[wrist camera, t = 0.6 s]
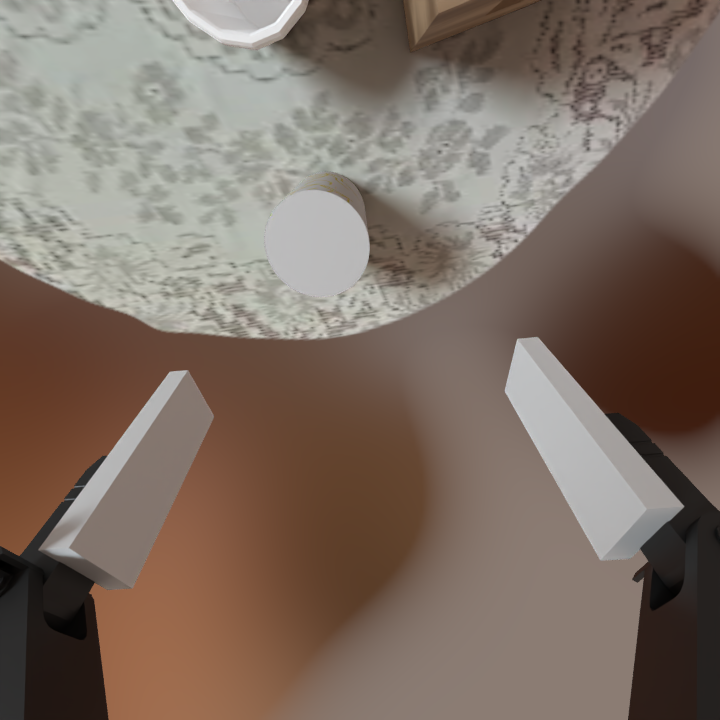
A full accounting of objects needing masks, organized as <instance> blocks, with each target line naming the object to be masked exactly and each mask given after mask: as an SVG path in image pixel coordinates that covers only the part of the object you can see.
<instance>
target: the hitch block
mask: <svg viewBox="0 0 720 720" xmlns="http://www.w3.org/2000/svg"><path fill="white" fill-rule="evenodd" d="M539 1H541V0H403V5H404V12H405V19H406V26H407V33H408V40H409V47H410V52H413V51H415V50H418V49H420V48H423V47H426V46H428V45H431V44H433V43H436V42H438V41H441V40H443V39H446V38H448V37H451V36H453V35H456V34H458V33H461V32H463V31H466V30H468V29H471V28H473V27H476V26H478V25H481V24H483V23H486V22H488V21H491V20H493V19H496V18H498V17H501V16H504V15H506V14H509V13H511V12H514V11H516V10H519V9H521V8H524V7H526V6H529V5H531V4H534V3H536V2H539Z"/></svg>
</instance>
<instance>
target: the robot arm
mask: <svg viewBox="0 0 720 720" xmlns="http://www.w3.org/2000/svg"><path fill="white" fill-rule="evenodd" d="M505 393H506V394H507V396H508V398H509V400H510V401H511V403H512V405H513V407H514V409H515V410H516V412H517V414H518V416H519V417H520V419H521V421H522V423H523V424H524V426H525V428H526V429H527V432H528V433H529V435H530V437H531V439H532V440H533V442H534V444H535V446H536V447H537V449H538V451H539V453H540V454H541V456H542V458H543V460H544V462H545V463H546V465H547V467H548V468H549V470H550V472H551V474H552V475H553V477H554V479H555V481H556V482H557V484H558V486H559V488H560V490H561V491H562V493H563V495H564V497H565V499H566V500H567V502H568V504H569V505H570V507H571V509H572V511H573V513H574V514H575V516H576V518H577V519H578V522H579V523H580V525H581V527H582V529H583V530H584V532H585V534H586V536H587V537H588V539H589V541H590V543H591V544H592V546H593V548H594V550H595V552H596V553H597V555H598V557H599V559H600V560H618V559H630V558H632V557H633V555H635V553H637V552H638V551H639V550H640V549H641V551H642V552H643V554H644V555H645V556H646V558H647V559H648V562H647V563H646V564H645V565H644V566H643V567H642V568H640V569H639V570H638V571H637V572H636V573H635V575H634V577H633V580H634V581H636V582H639V581H640V580H641V579H642V578H644V582H643V592H642V600H641V608H640V617H639V626H638V636H637V644H636V653H635V663H634V671H633V680H632V689H631V698H630V707H629V716H628V720H720V511H719V510H717V508H716V507H714V506H713V505H712V504H711V503H710V502H709V501H708V500H707V499H706V497H705V496H704V495H703V494H702V493H701V492H700V491H699V490H698V489H697V488H696V487H695V486H694V485H693V484H692V483H691V482H690V481H689V479H688V478H687V477H686V476H685V475H684V474H683V473H682V472H681V471H680V470H679V469H678V468H677V467H676V466H675V465H674V464H673V463H672V461H671V460H670V459H669V458H668V457H667V456H664V455H663V452H662V451H661V450H660V449H659V448H658V447H657V446H656V445H655V443H652V442H651V439H650V438H649V437H648V436H647V435H646V434H645V433H644V432H643V431H642V430H641V429H640V427H639V426H637V425H636V424H635V423H633V422H632V421H630V420H628V419H627V418H625V417H624V416H622V415H621V414H619V413H611V414H604V413H603V412H602V411H601V410H600V409H599V407H598V406H597V405H596V404H595V403H594V402H593V400H592V399H591V398H590V397H589V396H588V395H587V394H586V393H585V391H584V390H583V389H582V388H581V387H580V385H579V384H578V383H577V382H576V381H575V380H574V379H573V377H572V376H571V375H570V374H569V373H568V372H567V370H566V369H565V368H564V367H563V366H562V365H561V363H560V362H559V361H558V360H557V359H556V358H555V357H554V355H553V354H552V353H551V352H550V351H549V350H548V349H547V347H546V346H545V345H544V344H543V343H542V341H541V340H540V339H539V338H538V337H533V338H523V339H517V343H516V347H515V351H514V355H513V359H512V363H511V367H510V371H509V376H508V380H507V384H506V388H505ZM213 418H214V415H213V414H212V412H211V410H210V408H209V407H208V405H207V403H206V401H205V399H204V398H203V396H202V394H201V392H200V391H199V389H198V387H197V385H196V384H195V382H194V380H193V379H192V377H191V375H190V373H189V371H188V370H186V371H175V372H169V374H168V375H167V376H166V378H165V379H164V380H163V382H162V383H161V385H160V386H159V387H158V389H157V390H156V391H155V393H154V394H153V395H152V397H151V398H150V399H149V401H148V402H147V403H146V405H145V406H144V407H143V409H142V410H141V412H140V413H139V414H138V416H137V417H136V418H135V420H134V421H133V422H132V424H131V425H130V427H129V428H128V429H127V430H126V432H125V433H124V435H123V436H122V437H121V439H120V440H119V441H118V443H117V444H116V446H115V447H114V448H113V450H112V451H111V452H110V453H109V455H108V456H102V457H101V458H100V459H99V460H97V461H96V462H95V463H94V464H93V465H92V466H91V467H89V468H88V469H87V470H86V471H85V473H84V474H83V475H82V476H81V478H80V479H79V480H78V482H77V483H76V484H75V488H74V489H71V491H70V492H69V494H68V495H67V496H66V497H65V498H64V499H65V501H64V502H61V504H60V505H59V506H58V508H57V509H56V510H55V511H54V513H53V514H52V515H51V517H50V518H49V519H48V521H47V522H46V523H45V525H44V526H43V527H42V528H41V530H40V531H39V532H38V533H37V535H36V536H35V537H34V539H33V540H32V541H31V543H30V544H29V545H28V546H27V548H26V549H25V550H24V552H23V553H22V554H21V555H20V556H18V555H16V554H14V553H12V552H10V551H8V550H7V549H5V548H3V547H1V546H0V720H108V712H107V703H106V695H105V687H104V678H103V671H102V662H101V654H100V645H99V638H98V629H97V620H96V612H95V604H94V599H93V597H92V595H91V594H89V592H90V590H91V588H92V586H93V585H94V583H96V584H98V585H100V586H101V587H103V588H105V589H107V590H113V589H130V588H133V586H134V584H135V582H136V580H137V578H138V576H139V574H140V572H141V569H142V567H143V565H144V563H145V561H146V559H147V557H148V555H149V553H150V550H151V548H152V546H153V544H154V542H155V539H156V537H157V536H158V534H159V531H160V529H161V527H162V525H163V523H164V521H165V519H166V517H167V515H168V513H169V511H170V508H171V506H172V504H173V502H174V500H175V498H176V496H177V493H178V491H179V490H180V487H181V485H182V483H183V481H184V479H185V477H186V475H187V473H188V471H189V468H190V466H191V464H192V462H193V460H194V458H195V456H196V454H197V452H198V450H199V447H200V445H201V443H202V441H203V439H204V437H205V435H206V433H207V431H208V429H209V426H210V424H211V422H212V420H213Z"/></svg>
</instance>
